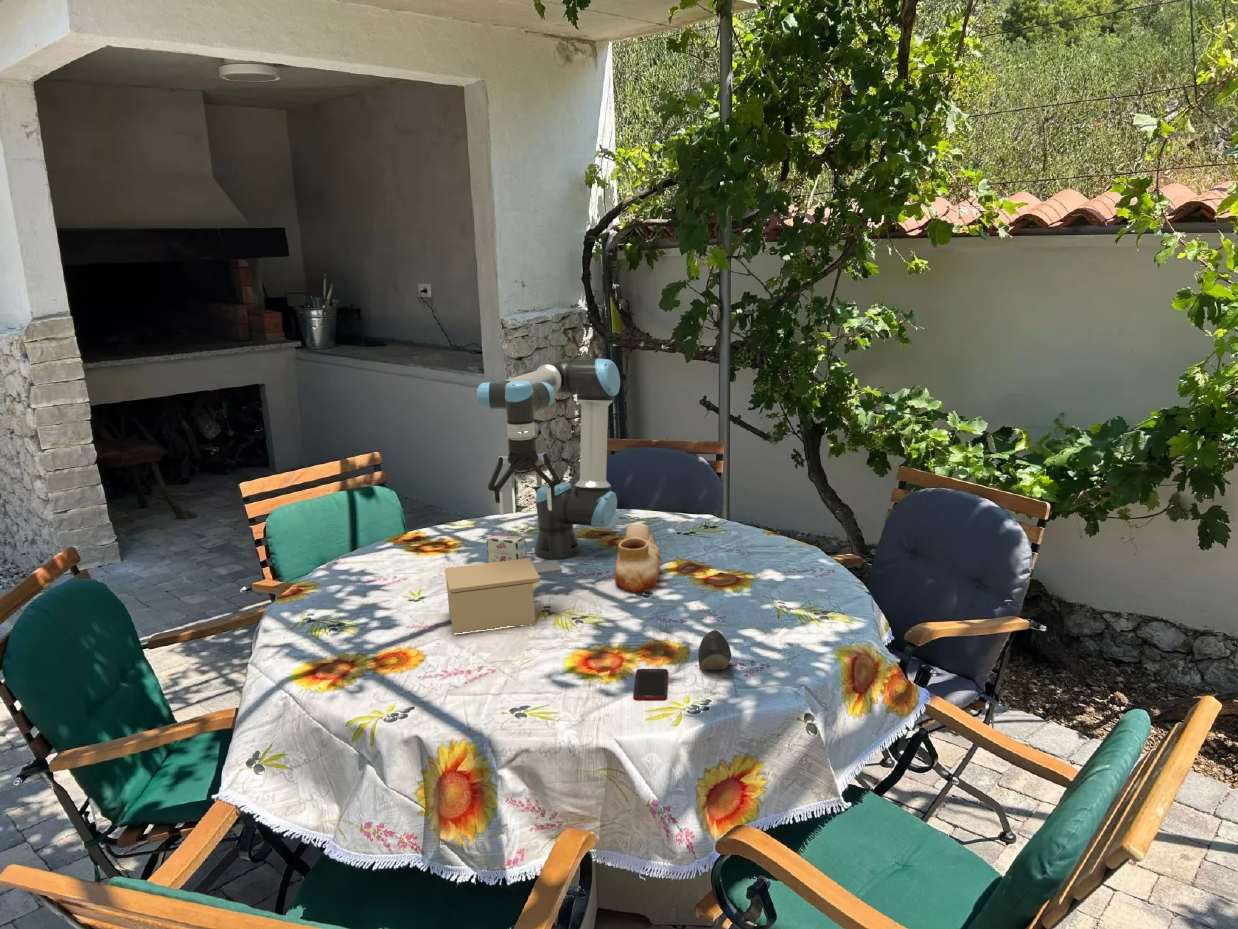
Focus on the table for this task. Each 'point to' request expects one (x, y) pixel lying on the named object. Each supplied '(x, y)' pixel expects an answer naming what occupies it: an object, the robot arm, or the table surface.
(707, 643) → the stone
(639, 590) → the ceramic vessel
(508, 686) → the table surface
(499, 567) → the lid
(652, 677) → the cell phone
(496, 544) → the candy bar box
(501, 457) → the robot arm
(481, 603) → the carton
